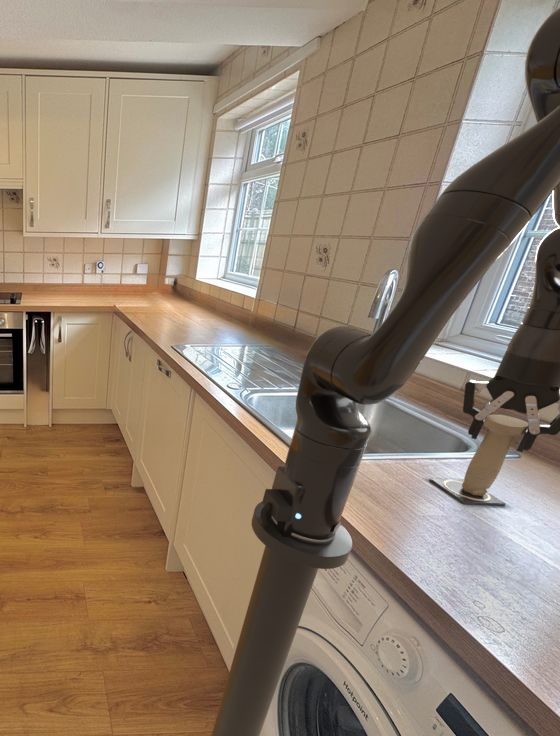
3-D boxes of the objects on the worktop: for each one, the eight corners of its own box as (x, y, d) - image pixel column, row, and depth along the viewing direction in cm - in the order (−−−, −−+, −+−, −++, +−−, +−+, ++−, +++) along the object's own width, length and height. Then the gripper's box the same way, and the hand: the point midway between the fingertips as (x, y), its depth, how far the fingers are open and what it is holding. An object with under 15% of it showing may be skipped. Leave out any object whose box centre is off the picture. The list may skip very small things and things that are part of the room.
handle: (498, 496, 76) (535, 424, 71) (479, 502, 74) (515, 429, 69) (466, 481, 81) (498, 412, 75) (447, 487, 78) (479, 417, 73)
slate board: (463, 504, 75) (465, 501, 74) (428, 480, 82) (430, 477, 82) (505, 505, 75) (506, 503, 74) (466, 482, 82) (467, 479, 81)
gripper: (477, 347, 70) (439, 434, 76) (612, 369, 60) (556, 468, 66) (481, 341, 75) (446, 424, 81) (607, 360, 65) (556, 453, 71)
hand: (496, 443), depth 74 cm, fingers closed on handle, 5 cm apart
